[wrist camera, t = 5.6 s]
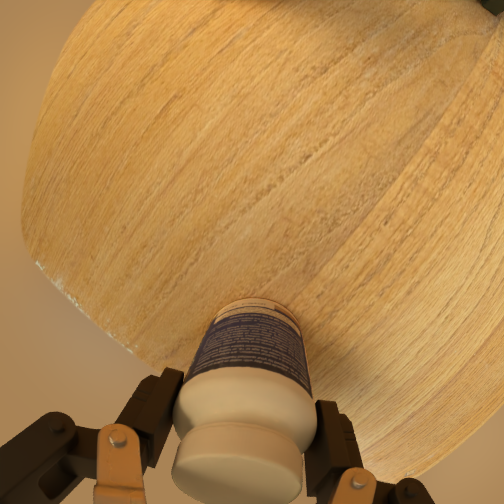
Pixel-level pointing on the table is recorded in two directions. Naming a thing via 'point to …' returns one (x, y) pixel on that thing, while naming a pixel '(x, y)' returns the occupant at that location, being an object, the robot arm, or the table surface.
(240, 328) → the pill bottle
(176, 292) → the table surface
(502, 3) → the shelf
